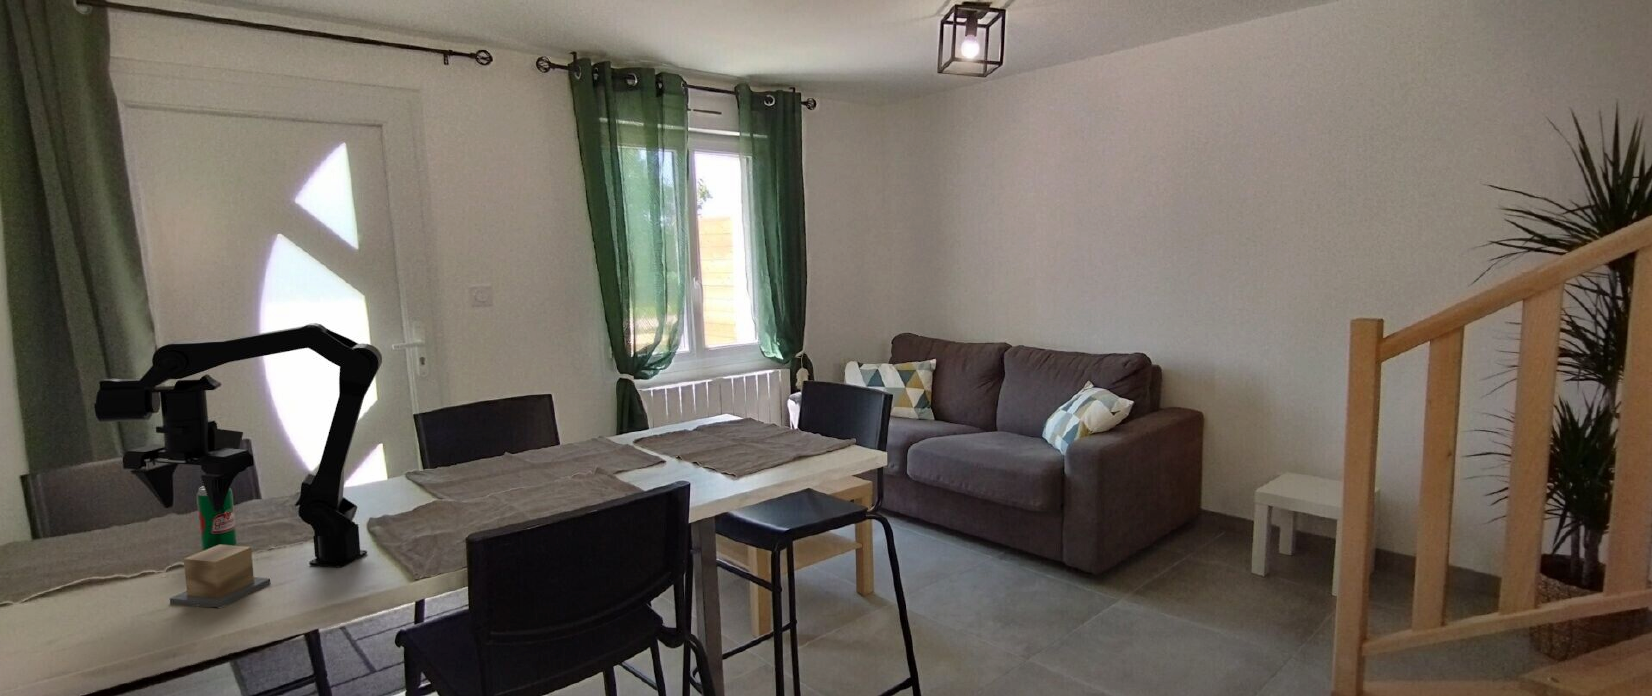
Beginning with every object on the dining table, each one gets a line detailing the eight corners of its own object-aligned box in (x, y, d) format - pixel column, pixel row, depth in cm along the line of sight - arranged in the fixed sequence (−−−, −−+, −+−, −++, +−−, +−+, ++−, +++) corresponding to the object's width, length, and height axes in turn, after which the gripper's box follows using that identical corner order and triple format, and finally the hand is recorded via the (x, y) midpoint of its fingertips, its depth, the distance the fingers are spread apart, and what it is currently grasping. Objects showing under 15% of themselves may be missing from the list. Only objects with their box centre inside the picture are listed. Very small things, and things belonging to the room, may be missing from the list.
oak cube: (254, 581, 124) (250, 547, 124) (219, 598, 119) (216, 561, 118) (223, 578, 125) (219, 544, 125) (187, 594, 119) (183, 558, 119)
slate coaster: (270, 583, 126) (270, 578, 126) (219, 608, 117) (218, 603, 117) (224, 578, 127) (223, 574, 127) (170, 603, 118) (169, 598, 118)
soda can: (217, 555, 136) (211, 491, 135) (194, 552, 137) (188, 489, 136) (244, 544, 141) (238, 483, 140) (222, 542, 142) (216, 481, 141)
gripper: (278, 410, 130) (284, 497, 132) (182, 405, 132) (189, 490, 134) (219, 424, 119) (226, 519, 121) (115, 418, 121) (124, 511, 123)
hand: (193, 509), depth 125 cm, fingers open, 9 cm apart
